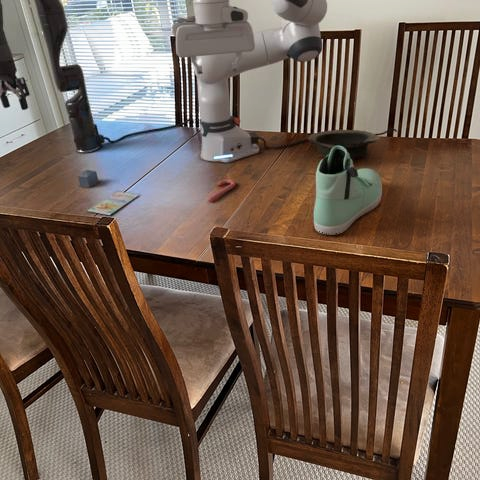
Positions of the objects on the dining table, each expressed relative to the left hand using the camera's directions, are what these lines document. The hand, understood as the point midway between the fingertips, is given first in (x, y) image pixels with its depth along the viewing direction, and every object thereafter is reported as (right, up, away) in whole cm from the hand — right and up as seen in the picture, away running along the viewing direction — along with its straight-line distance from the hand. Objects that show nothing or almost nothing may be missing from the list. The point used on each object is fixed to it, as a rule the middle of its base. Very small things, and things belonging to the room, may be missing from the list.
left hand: (16, 108), depth 163 cm
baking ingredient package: (+36, -33, -11) cm, 50 cm away
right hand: (+70, -1, -37) cm, 80 cm away
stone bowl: (+113, -14, +10) cm, 115 cm away
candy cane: (+70, -30, -9) cm, 77 cm away
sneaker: (+108, -36, -24) cm, 116 cm away
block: (+24, -25, +4) cm, 35 cm away
